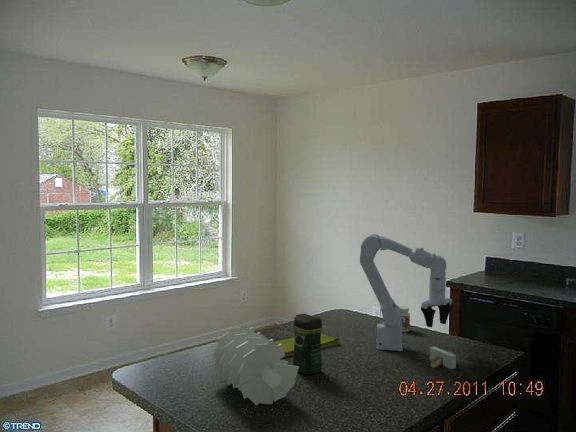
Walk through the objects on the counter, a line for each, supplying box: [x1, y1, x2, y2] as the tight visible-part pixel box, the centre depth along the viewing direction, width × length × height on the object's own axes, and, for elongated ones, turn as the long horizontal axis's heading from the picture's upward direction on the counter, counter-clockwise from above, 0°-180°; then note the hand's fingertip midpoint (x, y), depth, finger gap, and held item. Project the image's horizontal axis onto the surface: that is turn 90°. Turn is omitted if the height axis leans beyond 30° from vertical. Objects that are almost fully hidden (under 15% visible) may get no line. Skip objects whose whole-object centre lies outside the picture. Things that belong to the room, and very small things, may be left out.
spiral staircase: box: [212, 324, 299, 406], centre depth 142 cm, size 18×18×25 cm
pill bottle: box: [398, 306, 411, 333], centre depth 207 cm, size 6×6×10 cm
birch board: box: [430, 351, 454, 368], centre depth 168 cm, size 10×1×4 cm, turn 124°
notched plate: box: [429, 346, 457, 370], centre depth 168 cm, size 10×2×4 cm, turn 29°
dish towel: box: [273, 333, 340, 359], centre depth 183 cm, size 15×36×3 cm, turn 125°
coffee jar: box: [292, 313, 323, 375], centre depth 160 cm, size 10×8×19 cm
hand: (436, 325), depth 179 cm, fingers open, 7 cm apart
